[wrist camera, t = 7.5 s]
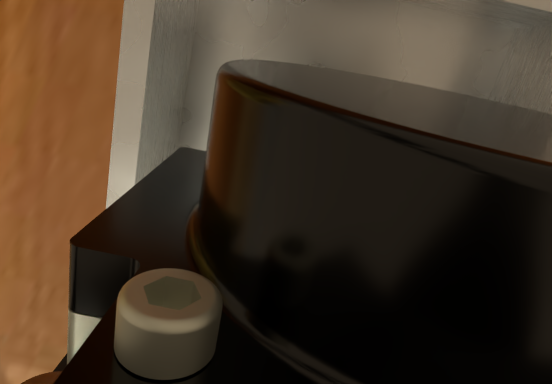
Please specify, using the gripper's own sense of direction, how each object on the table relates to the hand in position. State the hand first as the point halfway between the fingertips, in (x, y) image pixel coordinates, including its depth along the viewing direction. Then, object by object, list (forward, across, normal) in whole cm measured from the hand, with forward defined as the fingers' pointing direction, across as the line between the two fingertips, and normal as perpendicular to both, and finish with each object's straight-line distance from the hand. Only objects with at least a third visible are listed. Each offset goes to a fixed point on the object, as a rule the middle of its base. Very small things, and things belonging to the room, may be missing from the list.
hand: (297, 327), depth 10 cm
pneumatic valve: (+4, 0, 0) cm, 4 cm away
